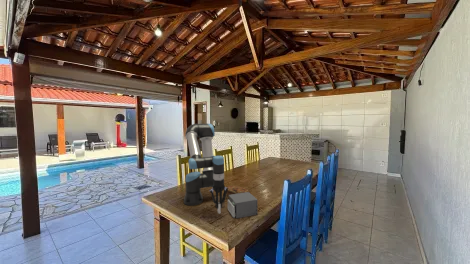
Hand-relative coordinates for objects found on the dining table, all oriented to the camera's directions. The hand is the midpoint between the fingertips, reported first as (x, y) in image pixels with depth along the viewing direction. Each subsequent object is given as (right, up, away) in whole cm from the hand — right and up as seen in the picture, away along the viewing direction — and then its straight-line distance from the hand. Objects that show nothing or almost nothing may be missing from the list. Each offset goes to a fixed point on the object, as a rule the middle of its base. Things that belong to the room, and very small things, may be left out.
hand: (219, 212), depth 131 cm
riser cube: (-1, -1, +15) cm, 15 cm away
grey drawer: (+15, -1, +5) cm, 16 cm away
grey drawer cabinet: (+17, -2, +6) cm, 18 cm away
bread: (+13, -1, +28) cm, 31 cm away
